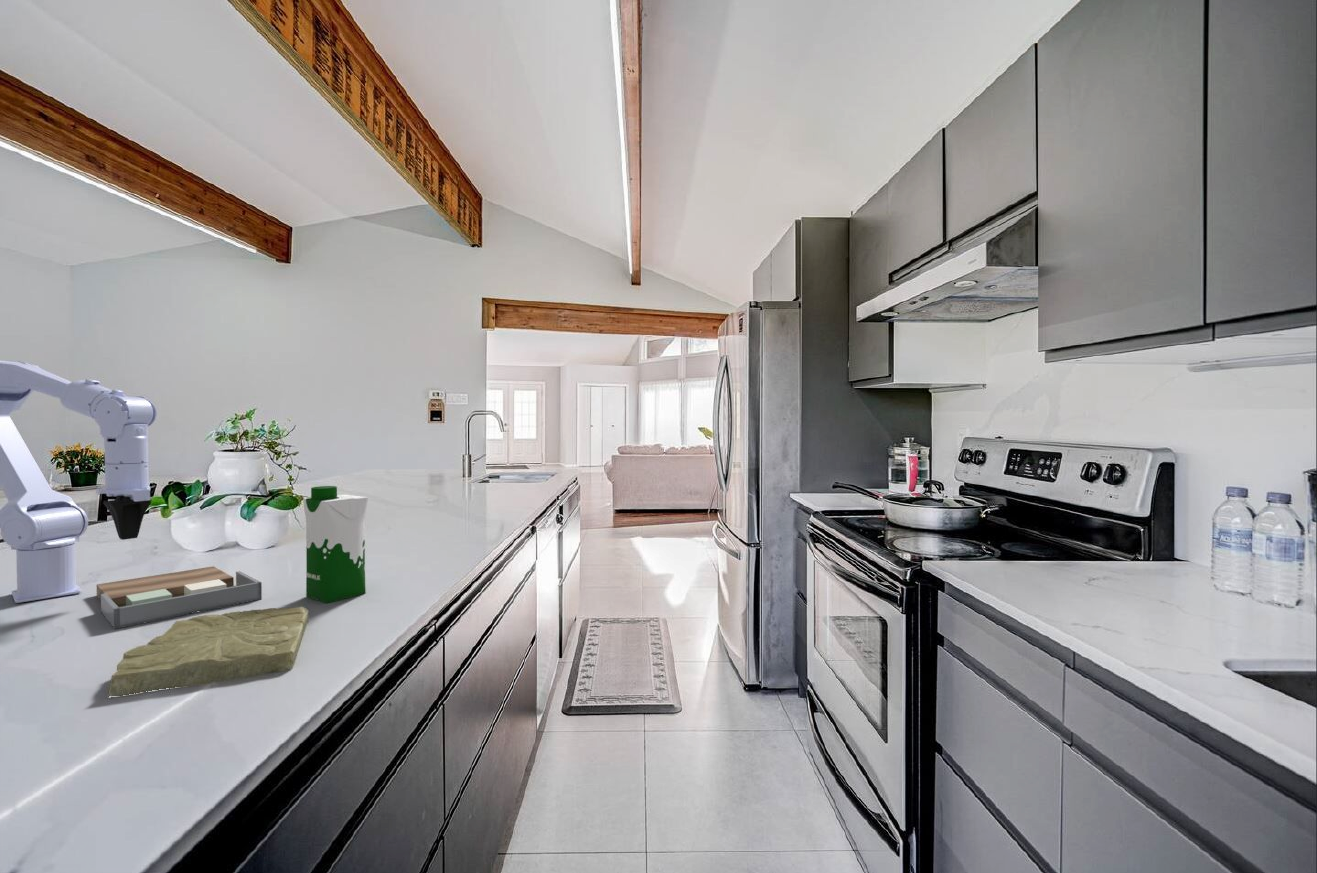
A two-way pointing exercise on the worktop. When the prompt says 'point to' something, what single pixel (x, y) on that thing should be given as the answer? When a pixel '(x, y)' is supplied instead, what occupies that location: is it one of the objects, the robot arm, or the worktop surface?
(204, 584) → the cream tile
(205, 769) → the worktop surface
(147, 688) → the decorative tile
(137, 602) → the sage tile
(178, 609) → the box
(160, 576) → the walnut plate
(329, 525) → the milk carton
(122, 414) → the robot arm
